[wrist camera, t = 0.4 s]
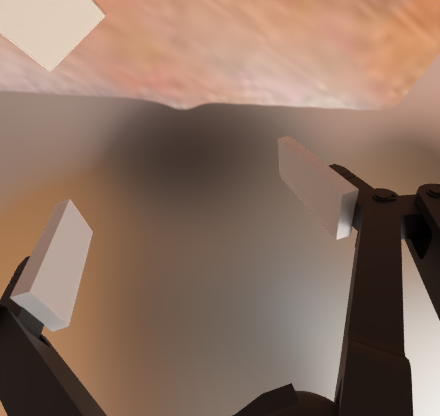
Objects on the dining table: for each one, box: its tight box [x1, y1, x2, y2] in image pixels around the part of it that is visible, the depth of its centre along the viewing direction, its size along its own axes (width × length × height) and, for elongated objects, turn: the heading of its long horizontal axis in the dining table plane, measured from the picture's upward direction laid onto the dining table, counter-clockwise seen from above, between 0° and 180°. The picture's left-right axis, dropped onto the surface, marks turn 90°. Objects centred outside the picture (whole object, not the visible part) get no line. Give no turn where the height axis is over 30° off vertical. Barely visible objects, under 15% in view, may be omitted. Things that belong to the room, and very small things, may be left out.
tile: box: [0, 0, 106, 72], centre depth 28 cm, size 11×11×1 cm
